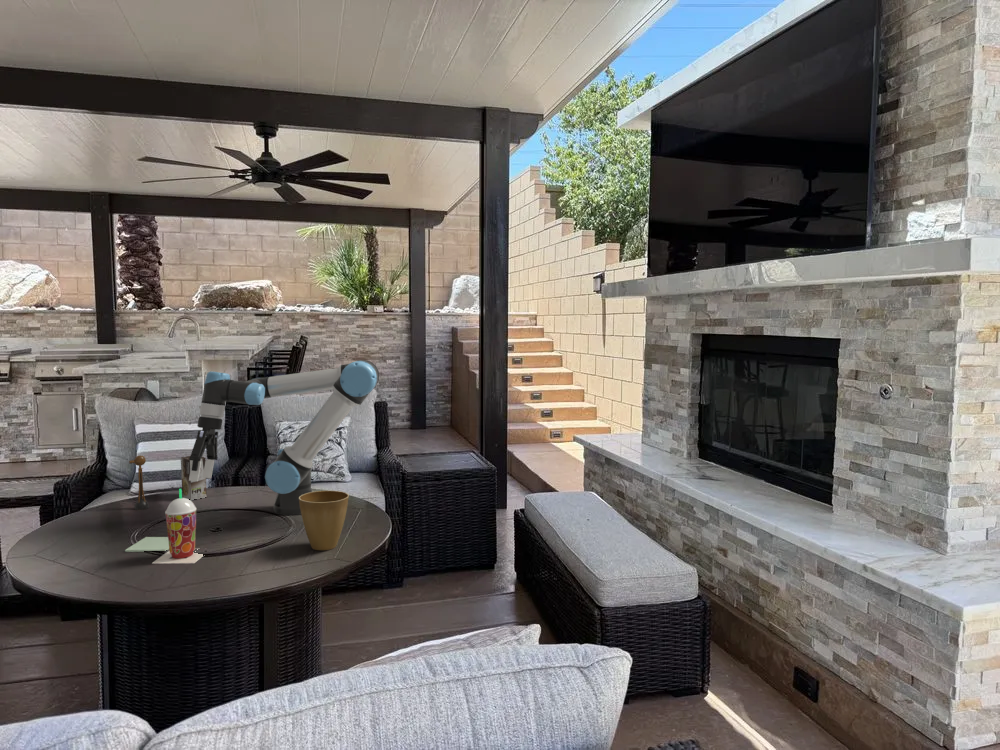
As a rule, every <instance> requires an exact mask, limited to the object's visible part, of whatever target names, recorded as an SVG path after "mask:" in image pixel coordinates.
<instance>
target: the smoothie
mask: <svg viewBox="0 0 1000 750" xmlns="http://www.w3.org/2000/svg"><path fill="white" fill-rule="evenodd" d="M178 494H179V495H178V498H175V499H173V500H172V501H170V502H169V504H168V506H167V508H166V510H165V511H164V514H165V521H166V530H167V537H168V542H169V549H168V551H170V554H171V555H172V557H173V558H186V557H189V556H191V555H193V551H194V550H195V549H196V535H197V533H196V532H197V530H196V529H197V509H198V508H197V507H196V505H195V503H194V502H193V500H189V499H187V498H184V497H182V488H179V489H178Z"/></svg>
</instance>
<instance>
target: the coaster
mask: <svg viewBox="0 0 1000 750" xmlns="http://www.w3.org/2000/svg"><path fill="white" fill-rule="evenodd" d="M166 550H167V551H169V542H168V536H145V537H144V538H142V539H140V540H139V541H137V542H135V543H134V544H133V545H131V546H129V547H127V548H126V549H125V550H124V552H125V553H131V552H132V553H137V552H138V553H144V551H166ZM167 551H166V552H167Z"/></svg>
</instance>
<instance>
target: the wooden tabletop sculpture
mask: <svg viewBox="0 0 1000 750" xmlns="http://www.w3.org/2000/svg"><path fill="white" fill-rule="evenodd" d="M146 461H147V459H146V457H145V456H144V455H137V456H136V457H135V458H134V459H132V460H129V461H128V463H129V464H134V465H136V466H138V468H137V475H138V495H137V501H136V502H135V504H134V510H135V511H143V509H144V510H147V508H148V509H149V508H150V505H149V502H148V501H147V500H146V498H145V491H144V486H143V485H144V483H143V482H144V481H143V480H144V478H143V469H144V468H143V467H142V466H144V465H145V463H146Z"/></svg>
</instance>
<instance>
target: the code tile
mask: <svg viewBox="0 0 1000 750" xmlns="http://www.w3.org/2000/svg"><path fill="white" fill-rule="evenodd" d="M196 549H197V550H198V549H199V548H196ZM195 552H196V551H195ZM203 557H204V556H203V554H198V553H194V552H193V555H191V556H189V557H186V558H173V557H172V555H171V554H170V551H169V550H167V551H166V552H165V553H164V554H162V555H161V556H160V557H158V558H157V559H156V560H154V561H153V562H152V563H151V564H153V565H154V564H155V565H157V564H161V565H162V564H163V565H165V564H169V565H170V564H171V565H172V564H173V565H174V564H176V565H177V564H179V565H181V564H184V565H185V564H186V565H187V564H195V563H197V562H198V561H199V560H200V559H202V558H203Z"/></svg>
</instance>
